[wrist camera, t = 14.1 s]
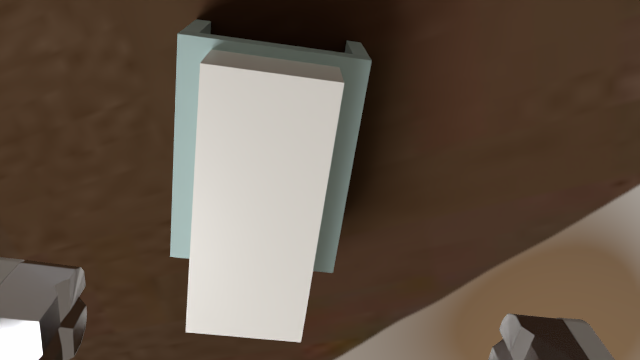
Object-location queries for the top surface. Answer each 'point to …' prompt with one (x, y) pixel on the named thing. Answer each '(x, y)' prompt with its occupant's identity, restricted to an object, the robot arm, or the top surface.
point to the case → (190, 53)
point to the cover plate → (258, 192)
